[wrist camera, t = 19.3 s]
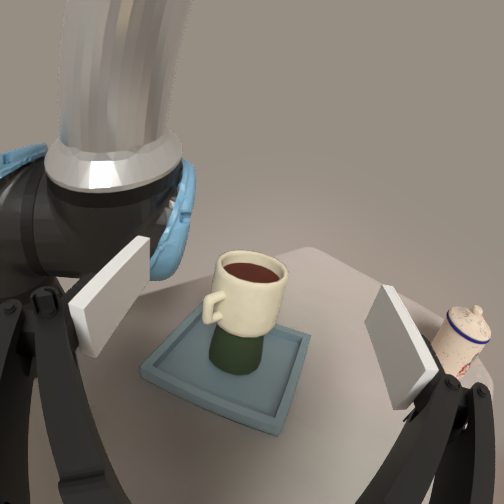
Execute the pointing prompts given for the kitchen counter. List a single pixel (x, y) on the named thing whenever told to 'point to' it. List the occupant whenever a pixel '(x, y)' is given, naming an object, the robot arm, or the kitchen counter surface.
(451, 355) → the teacup with lid
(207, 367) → the tray
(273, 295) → the character mug
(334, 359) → the kitchen counter surface
